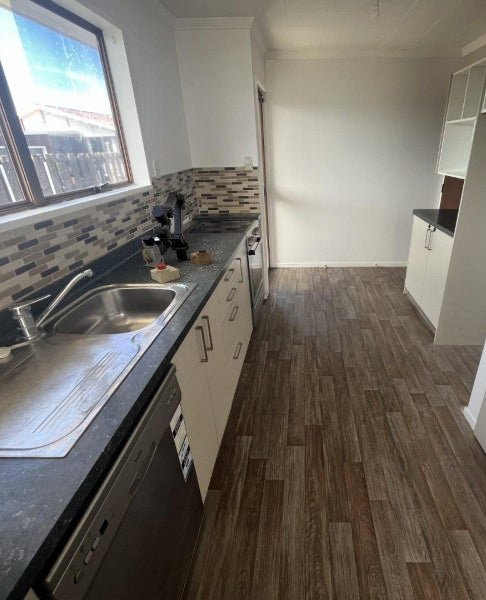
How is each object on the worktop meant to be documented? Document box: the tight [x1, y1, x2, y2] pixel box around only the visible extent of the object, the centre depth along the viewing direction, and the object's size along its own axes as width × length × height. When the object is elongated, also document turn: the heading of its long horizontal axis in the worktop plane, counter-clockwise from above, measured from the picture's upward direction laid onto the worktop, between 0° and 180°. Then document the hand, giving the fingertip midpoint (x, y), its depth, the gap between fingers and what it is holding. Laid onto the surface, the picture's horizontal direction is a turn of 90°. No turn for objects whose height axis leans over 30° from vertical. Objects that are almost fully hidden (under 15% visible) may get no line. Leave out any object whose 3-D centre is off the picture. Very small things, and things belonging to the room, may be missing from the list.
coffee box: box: [138, 236, 165, 269], centre depth 183 cm, size 9×6×16 cm
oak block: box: [189, 249, 212, 267], centre depth 188 cm, size 11×8×7 cm
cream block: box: [150, 265, 181, 284], centre depth 166 cm, size 10×10×6 cm
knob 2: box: [198, 247, 207, 253], centre depth 185 cm, size 4×4×2 cm
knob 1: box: [157, 263, 167, 270], centre depth 162 cm, size 4×4×2 cm
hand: (161, 255), depth 163 cm, fingers closed
